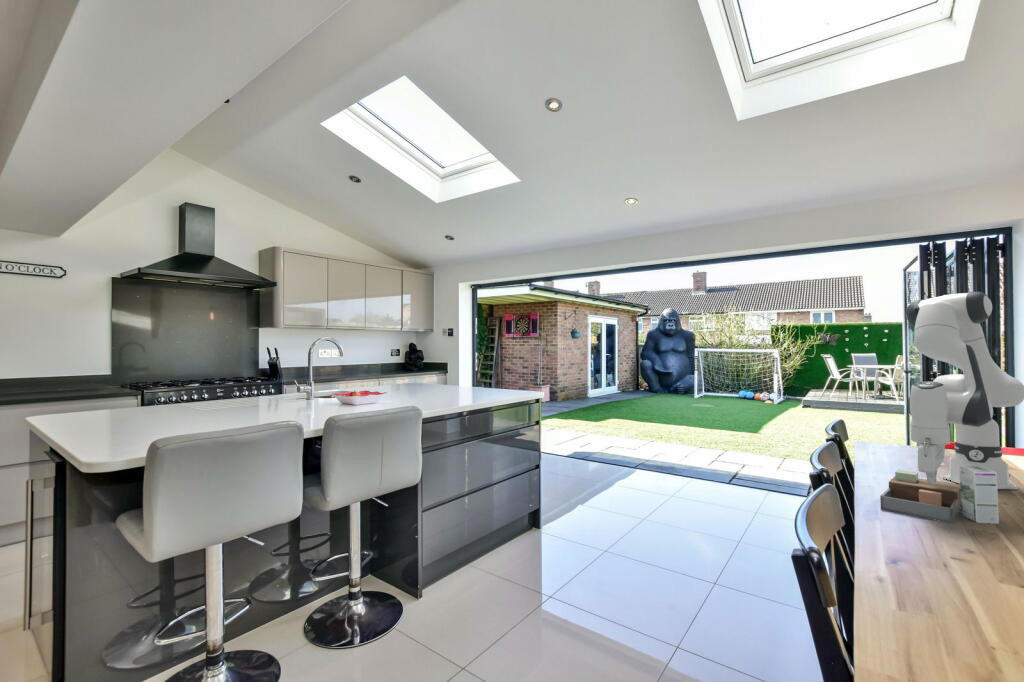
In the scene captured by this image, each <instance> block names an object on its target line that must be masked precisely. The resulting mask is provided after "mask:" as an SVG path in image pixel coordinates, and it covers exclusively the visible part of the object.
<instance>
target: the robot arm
mask: <svg viewBox="0 0 1024 682" xmlns="http://www.w3.org/2000/svg"><path fill="white" fill-rule="evenodd" d="M992 311H993V303H992V301H991V299H990V298H989V296H988V295H987V294H985V293H984V292H982V291H969V292H962V293H949V294H943V295H940V296H935V297H931V298H926V299H917V300H915V301H912V302H911V303H910V304H908V306H907V307H906V311H905V312H906V315H905V317H906V320H907V322H908V324H909V325H910V326H911V327H913V329H914V330H913V331H914V332H913V337H914V338H913V339H914V347H915V348H916V349H917V351H919V353H921V355H924V356H926V357H927V358H930V359H932V360H936V361H939V362H943V363H947V364H950V365H952V366H954V367H955V368H958V369H960V370H961V371H962V374H960V373H951V374H950V373H949V374H944V375H938V376H937V377H936V378H934V380H933V381H932V380H931V381H926V380H925V381H923V380H922V381H917V382H915V383H913V384H911V388H910V394H909V397H908V398H907V413H908V414H909V415H910V416H911V420H910V424H909V425H910V440H911V441H912V442H915V443H916V447H917V469H918V471H919V473H925V477H926V480H927V482H928V483H932V484H934V483H935V482H936V481H938V480H937V474H938V469H939V468H940V466H941V465H942V463H944V459H945V452H946V451H945V450H946V445H951V429H950V428H951V427H950V424H952V425H953V424H954V429H955V442H954V454H952V455H951V456H950V457H949V467H948V468H949V469H948V470H949V472H948V474H945V475H943V476H942V479H943V478H944V479H943V480H946V479H947V481H950V480H951V481H950V482H954V483H955V484H960V469H959V467H963V466H975V467H982V468H985V469H989V470H992V471H995V472H997V490H1019V489H1018V485H1016V484H1015V483H1014V482H1013V481H1012V480H1011V479H1010V477H1011V474H1010V473H1009V464H1008V463H1007V462H1006V461H1005V460H1004V459H1003V458H1002V457H1003V449H1002V446H1001V445H1000V425H999V424H998V422H997V421H996V420H995V419H993V416H994V408H1008V407H1017V406H1018V405H1020V404H1022V403H1023V402H1024V383H1023V382H1022V381H1020V380H1019V379H1018V378H1015V377H1013V376H1012V375H1010V374H1009V373H1006V372H1005V371H1004V370H1002V369H1001V368H1000V366H998V365H997V363H996V362H995V361H994V359H993V358H992V356H991V353H990V352H989V348H988V345H987V342H986V338H985V334H984V331H983V328H982V325H981V324H982V323H983V322H985V321H987V320H988V319H989V318H990V317H991V315H992Z"/></svg>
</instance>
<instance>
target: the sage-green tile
mask: <svg viewBox="0 0 1024 682" xmlns="http://www.w3.org/2000/svg"><path fill="white" fill-rule="evenodd" d="M894 474H895V476H894V477H895V479H896V480H900V481H906V482H913V483H916V482H917V481H918V478H919V472H918V471H911V470H907V469H906V470H905V469H897V470H896V471H895V473H894Z"/></svg>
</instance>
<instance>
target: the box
mask: <svg viewBox="0 0 1024 682" xmlns="http://www.w3.org/2000/svg"><path fill="white" fill-rule="evenodd" d="M880 510H883V511H887V512H892V513H898V514H902V515H907V516H913V517H917V516H918V518H923V517H924V518H923V519H928V518H930V519H929V520H933V519H936V520H935V521H938V520H940V521H939V522H943V521H944V522H943V523H948V522H949V523H948V524H954V523H955V521H954V520H956V518H957V516H958V514H959V512H958V500H957V499H955V500H954V501H953V503H952V505H951V507H950V508H947V507H942V506H936V505H931V504H925V503H919V502H914V501H908V500H903V499H897V498H892V497H891V488H889V487H888V488H887V489H886V490H885V491H884V492H883V493H882V494H881V495H880ZM953 522H954V523H953Z"/></svg>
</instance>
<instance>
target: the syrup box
mask: <svg viewBox="0 0 1024 682" xmlns="http://www.w3.org/2000/svg"><path fill="white" fill-rule="evenodd" d="M959 469H960V490H961V508H960V510H961V517H964V518H966V519H968V520H970V521H972V522H974V523H977V524H987V523H990V524H992V525H999V524H1000V515H999V514H1000V513H999V494H998V489H997V472H995V471H992V470H989V469H985V468H982V467H975V466H963V467H959Z"/></svg>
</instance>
